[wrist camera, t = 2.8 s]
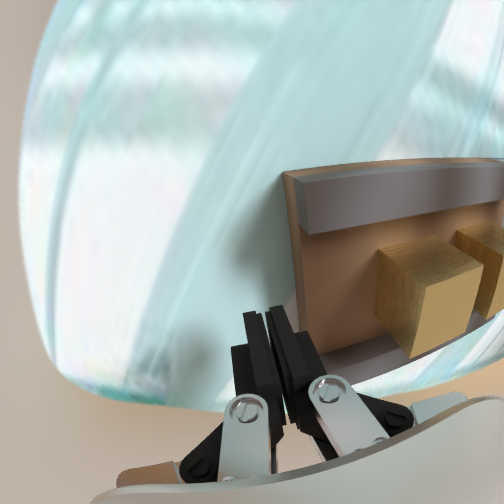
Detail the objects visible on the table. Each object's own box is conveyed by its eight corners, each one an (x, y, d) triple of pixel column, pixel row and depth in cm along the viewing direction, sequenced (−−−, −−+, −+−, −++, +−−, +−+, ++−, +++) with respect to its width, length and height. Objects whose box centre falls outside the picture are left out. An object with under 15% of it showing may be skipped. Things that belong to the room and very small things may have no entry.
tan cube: (490, 221, 13) (532, 242, 10) (481, 273, 15) (517, 299, 11) (456, 229, 13) (503, 256, 9) (447, 287, 15) (485, 319, 11)
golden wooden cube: (434, 235, 13) (484, 264, 9) (426, 295, 14) (465, 331, 11) (378, 248, 13) (425, 287, 9) (373, 313, 14) (409, 359, 11)
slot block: (487, 158, 14) (522, 167, 10) (469, 297, 18) (493, 318, 15) (282, 171, 13) (303, 182, 10) (301, 357, 18) (316, 395, 14)
